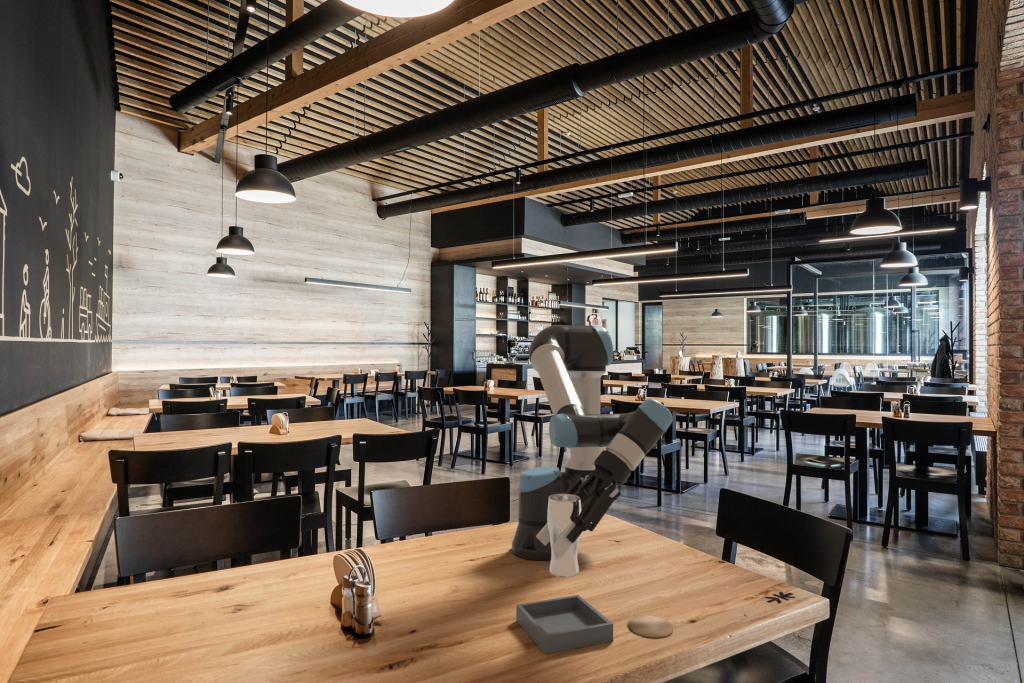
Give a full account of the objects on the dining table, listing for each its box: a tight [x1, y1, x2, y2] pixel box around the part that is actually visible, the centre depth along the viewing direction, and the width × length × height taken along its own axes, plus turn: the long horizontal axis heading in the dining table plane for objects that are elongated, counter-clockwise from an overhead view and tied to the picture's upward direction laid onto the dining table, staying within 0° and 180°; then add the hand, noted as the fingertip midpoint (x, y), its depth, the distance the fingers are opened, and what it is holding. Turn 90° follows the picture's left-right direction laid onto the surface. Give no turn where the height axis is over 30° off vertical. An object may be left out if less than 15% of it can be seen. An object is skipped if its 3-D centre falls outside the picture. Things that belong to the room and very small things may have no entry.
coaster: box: [627, 614, 674, 639], centre depth 118 cm, size 9×9×1 cm
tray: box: [515, 594, 614, 655], centre depth 116 cm, size 15×15×3 cm
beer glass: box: [547, 494, 581, 578], centre depth 117 cm, size 7×7×15 cm
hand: (548, 546), depth 115 cm, fingers closed on beer glass, 7 cm apart
